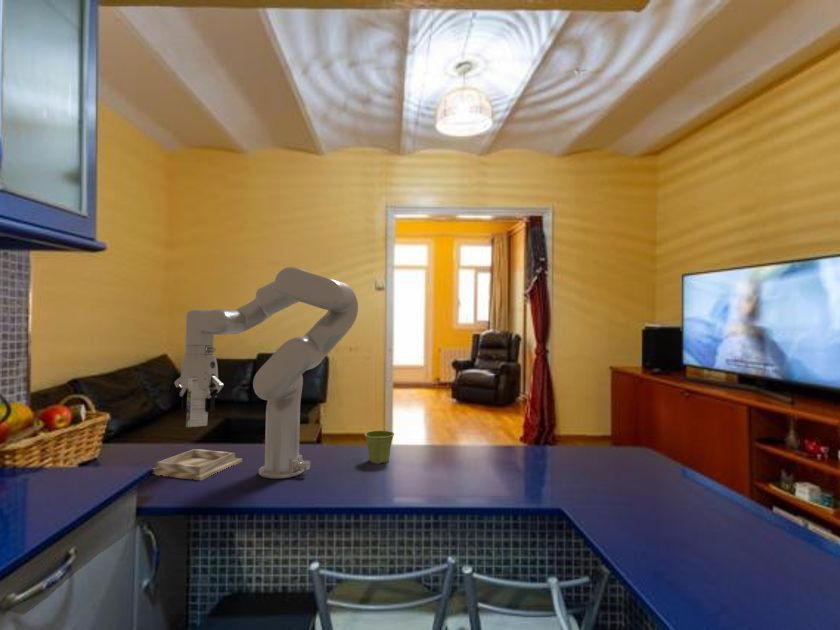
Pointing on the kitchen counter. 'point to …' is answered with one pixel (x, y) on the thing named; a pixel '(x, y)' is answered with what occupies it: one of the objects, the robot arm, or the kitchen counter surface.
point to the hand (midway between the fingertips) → (197, 409)
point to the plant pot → (379, 445)
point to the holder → (196, 464)
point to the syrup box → (195, 405)
